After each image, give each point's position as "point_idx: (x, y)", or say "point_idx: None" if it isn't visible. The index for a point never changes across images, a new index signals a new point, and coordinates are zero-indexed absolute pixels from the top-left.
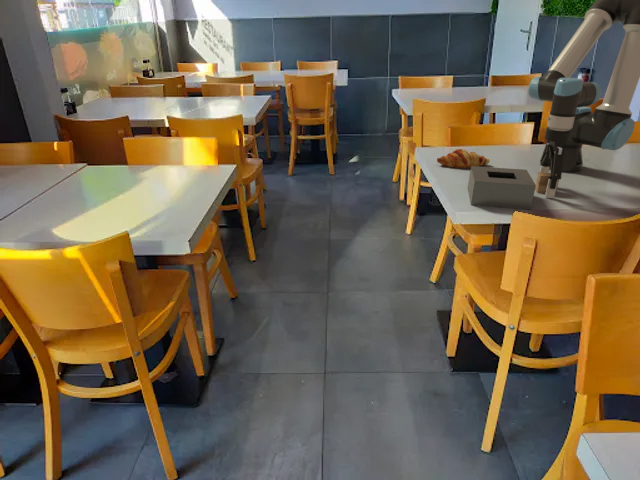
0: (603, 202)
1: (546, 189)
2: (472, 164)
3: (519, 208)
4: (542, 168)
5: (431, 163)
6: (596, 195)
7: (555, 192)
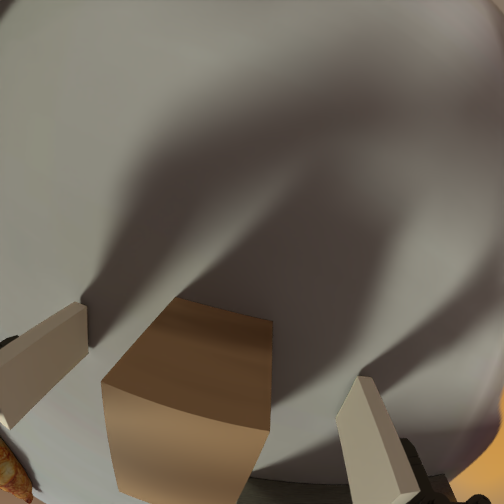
0: (445, 54)
1: (343, 455)
2: (2, 453)
3: None
4: (14, 412)
5: None
6: (307, 6)
7: (272, 332)
